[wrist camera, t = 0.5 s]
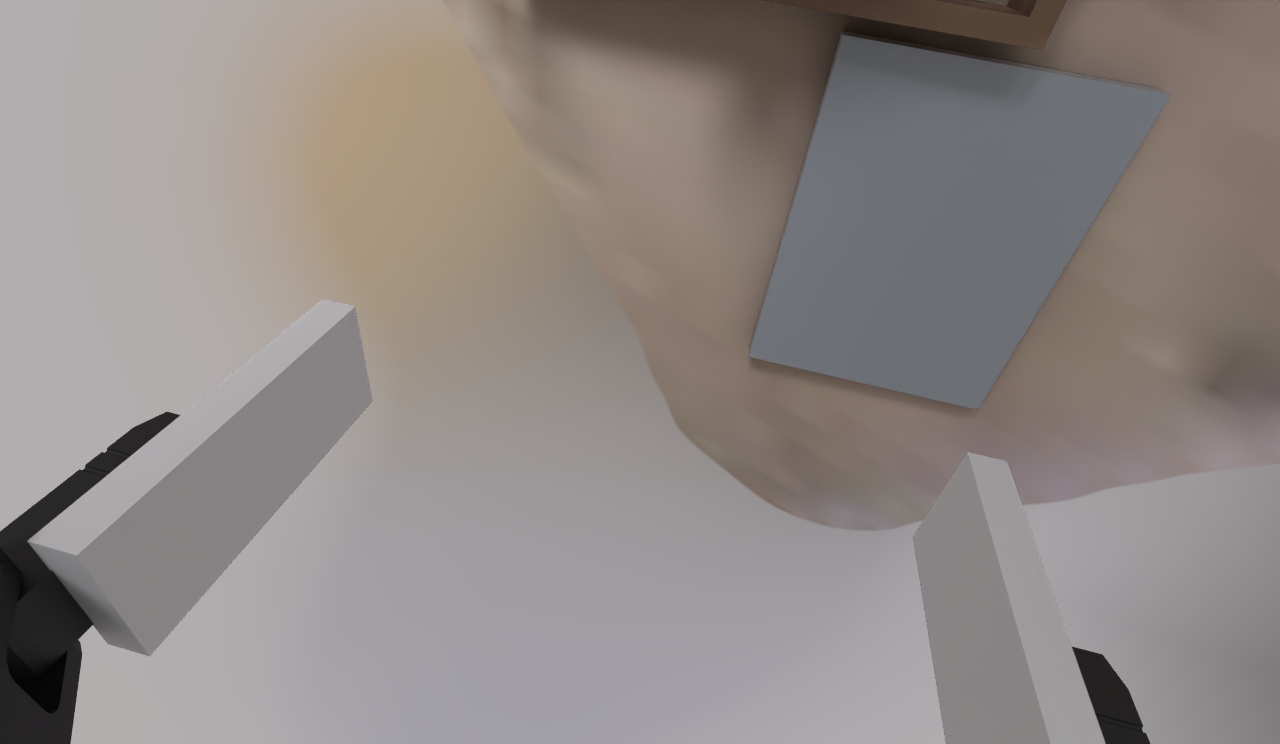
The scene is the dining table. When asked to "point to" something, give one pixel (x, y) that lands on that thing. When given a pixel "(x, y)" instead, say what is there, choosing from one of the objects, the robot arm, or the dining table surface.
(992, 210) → the board
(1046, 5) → the crate
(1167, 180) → the dining table surface
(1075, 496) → the dining table surface
